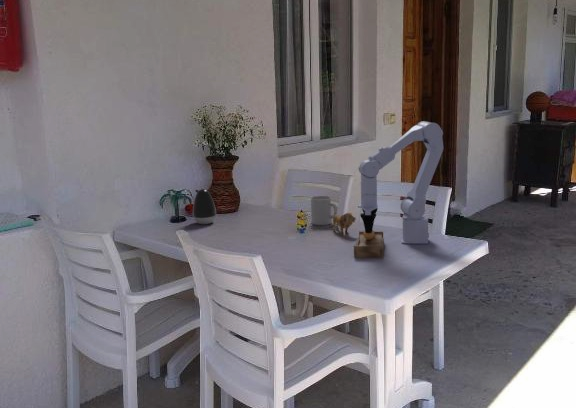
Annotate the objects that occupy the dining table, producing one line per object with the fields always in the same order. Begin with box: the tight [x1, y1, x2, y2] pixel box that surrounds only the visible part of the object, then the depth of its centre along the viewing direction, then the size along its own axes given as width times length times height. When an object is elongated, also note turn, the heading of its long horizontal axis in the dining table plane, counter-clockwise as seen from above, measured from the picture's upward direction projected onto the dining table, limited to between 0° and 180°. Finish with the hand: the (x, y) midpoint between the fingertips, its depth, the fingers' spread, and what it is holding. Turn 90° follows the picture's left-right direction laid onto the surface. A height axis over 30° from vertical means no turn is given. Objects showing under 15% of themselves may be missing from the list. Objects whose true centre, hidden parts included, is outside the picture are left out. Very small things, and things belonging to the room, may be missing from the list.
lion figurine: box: [329, 212, 357, 236], centre depth 235 cm, size 15×5×9 cm, turn 33°
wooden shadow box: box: [353, 230, 385, 259], centre depth 211 cm, size 10×19×4 cm, turn 169°
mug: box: [310, 195, 338, 226], centre depth 250 cm, size 12×8×11 cm
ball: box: [363, 229, 375, 240], centre depth 215 cm, size 4×4×4 cm
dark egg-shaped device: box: [192, 188, 217, 225], centre depth 259 cm, size 10×10×15 cm
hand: (369, 230), depth 216 cm, fingers open, 7 cm apart
